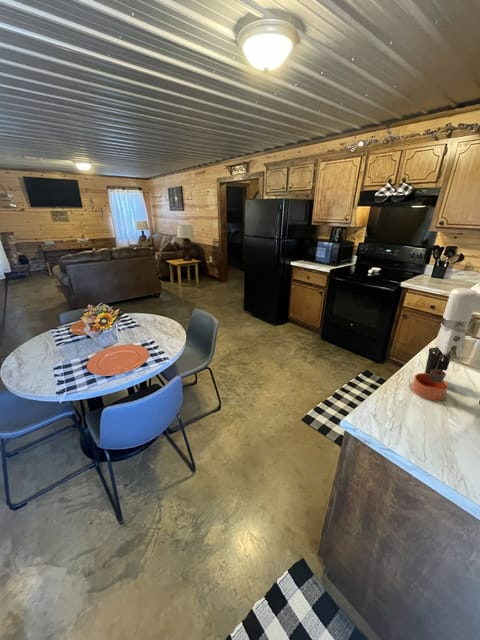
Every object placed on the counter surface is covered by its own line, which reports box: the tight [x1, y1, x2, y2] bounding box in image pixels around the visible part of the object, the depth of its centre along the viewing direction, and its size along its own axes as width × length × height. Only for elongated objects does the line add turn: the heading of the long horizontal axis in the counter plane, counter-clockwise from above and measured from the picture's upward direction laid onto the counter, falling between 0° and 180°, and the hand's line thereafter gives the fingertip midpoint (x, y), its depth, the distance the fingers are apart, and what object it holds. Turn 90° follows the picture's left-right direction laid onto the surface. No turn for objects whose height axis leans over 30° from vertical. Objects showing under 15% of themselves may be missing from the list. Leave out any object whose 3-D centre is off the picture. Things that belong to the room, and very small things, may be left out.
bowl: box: [411, 372, 449, 402], centre depth 105 cm, size 11×11×5 cm
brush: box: [429, 353, 447, 383], centre depth 100 cm, size 5×5×11 cm
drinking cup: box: [424, 347, 448, 374], centre depth 109 cm, size 8×8×20 cm
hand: (440, 367), depth 100 cm, fingers closed on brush
